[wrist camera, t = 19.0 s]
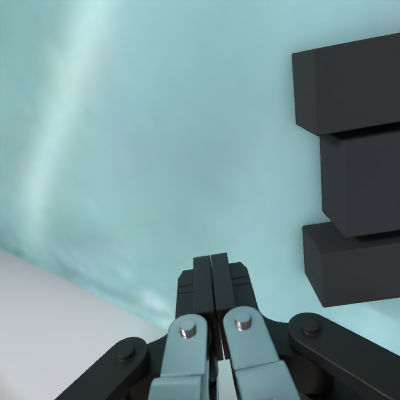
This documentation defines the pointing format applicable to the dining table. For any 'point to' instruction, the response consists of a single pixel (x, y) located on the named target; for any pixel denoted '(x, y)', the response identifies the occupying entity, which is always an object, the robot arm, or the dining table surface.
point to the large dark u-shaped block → (342, 121)
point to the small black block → (362, 179)
